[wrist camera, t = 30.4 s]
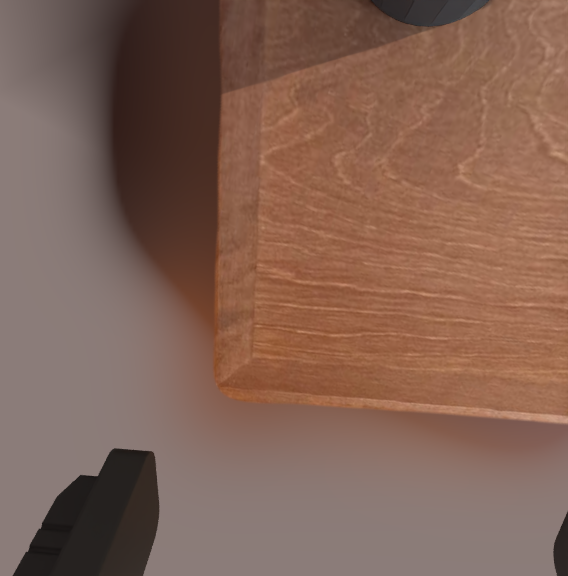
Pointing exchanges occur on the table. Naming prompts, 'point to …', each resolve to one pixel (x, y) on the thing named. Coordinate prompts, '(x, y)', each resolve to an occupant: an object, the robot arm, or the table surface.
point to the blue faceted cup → (429, 10)
